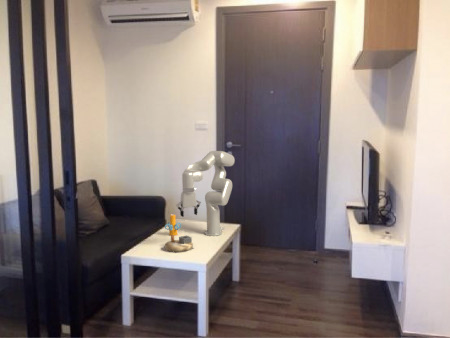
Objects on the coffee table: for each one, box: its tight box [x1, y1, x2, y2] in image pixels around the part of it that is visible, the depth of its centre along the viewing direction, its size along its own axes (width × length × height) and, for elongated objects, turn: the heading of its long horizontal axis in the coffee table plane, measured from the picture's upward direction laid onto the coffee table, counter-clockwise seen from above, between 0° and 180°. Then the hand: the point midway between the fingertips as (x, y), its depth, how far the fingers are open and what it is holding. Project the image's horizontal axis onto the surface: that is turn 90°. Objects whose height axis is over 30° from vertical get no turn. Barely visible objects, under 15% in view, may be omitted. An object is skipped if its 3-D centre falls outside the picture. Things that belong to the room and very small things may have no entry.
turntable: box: [164, 235, 194, 253], centre depth 282 cm, size 18×18×6 cm
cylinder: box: [164, 213, 182, 237], centre depth 314 cm, size 12×10×15 cm
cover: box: [178, 235, 193, 244], centre depth 285 cm, size 6×6×4 cm
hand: (189, 215), depth 288 cm, fingers open, 9 cm apart
